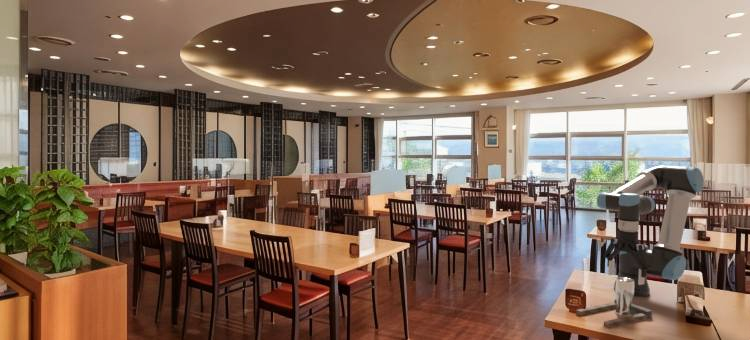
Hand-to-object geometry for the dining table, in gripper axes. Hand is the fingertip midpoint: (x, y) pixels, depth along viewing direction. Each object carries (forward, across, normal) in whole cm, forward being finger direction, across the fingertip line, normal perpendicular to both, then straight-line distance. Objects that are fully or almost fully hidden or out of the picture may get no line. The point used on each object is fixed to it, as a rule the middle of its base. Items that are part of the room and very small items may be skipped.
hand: (625, 279), depth 185 cm
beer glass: (+15, 0, -1) cm, 15 cm away
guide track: (+15, 0, -7) cm, 16 cm away
